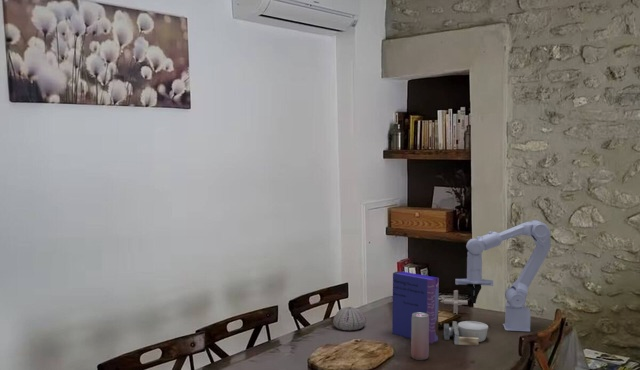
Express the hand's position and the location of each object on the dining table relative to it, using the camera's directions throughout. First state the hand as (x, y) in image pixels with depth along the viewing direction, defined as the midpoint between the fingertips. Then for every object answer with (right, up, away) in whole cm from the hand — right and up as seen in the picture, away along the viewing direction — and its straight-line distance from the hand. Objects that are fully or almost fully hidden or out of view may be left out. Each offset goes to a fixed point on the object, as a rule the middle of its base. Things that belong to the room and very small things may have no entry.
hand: (473, 302), depth 245 cm
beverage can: (-27, -12, -34) cm, 45 cm away
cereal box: (-25, -11, -12) cm, 30 cm away
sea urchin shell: (-50, -10, +1) cm, 51 cm away
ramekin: (-4, -11, -14) cm, 18 cm away
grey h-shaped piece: (-12, -11, -13) cm, 20 cm away
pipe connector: (-3, -9, +20) cm, 22 cm away
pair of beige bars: (-5, -11, -14) cm, 18 cm away
